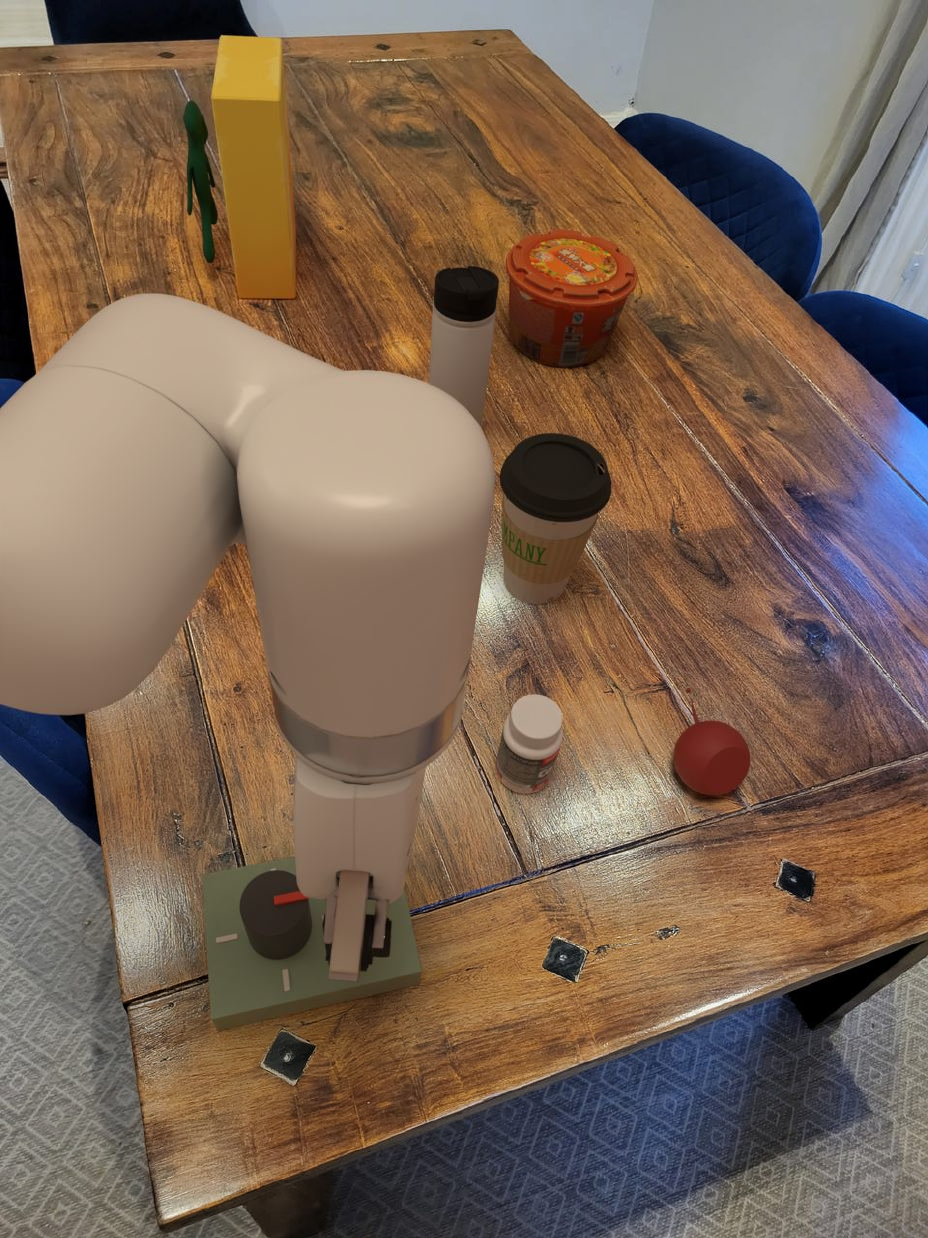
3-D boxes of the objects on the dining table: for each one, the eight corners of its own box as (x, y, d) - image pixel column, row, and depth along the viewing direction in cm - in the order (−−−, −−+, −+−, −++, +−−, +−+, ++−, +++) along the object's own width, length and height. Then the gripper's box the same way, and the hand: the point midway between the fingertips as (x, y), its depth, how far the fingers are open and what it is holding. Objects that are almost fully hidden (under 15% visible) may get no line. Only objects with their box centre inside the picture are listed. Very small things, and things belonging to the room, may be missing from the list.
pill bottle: (542, 802, 71) (559, 751, 65) (487, 784, 72) (498, 731, 66) (557, 755, 74) (575, 701, 68) (504, 737, 75) (516, 682, 68)
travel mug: (434, 460, 96) (445, 295, 80) (419, 422, 100) (427, 257, 84) (488, 453, 98) (510, 290, 82) (471, 416, 101) (489, 253, 86)
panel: (217, 1031, 59) (210, 1019, 56) (207, 890, 65) (201, 873, 62) (420, 984, 62) (422, 970, 59) (393, 853, 68) (394, 835, 65)
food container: (640, 334, 115) (661, 256, 106) (582, 393, 106) (600, 314, 97) (536, 289, 119) (549, 212, 111) (472, 342, 110) (480, 263, 102)
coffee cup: (486, 539, 89) (502, 423, 78) (581, 547, 90) (612, 432, 78) (483, 614, 83) (501, 500, 71) (586, 623, 84) (620, 510, 72)
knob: (250, 966, 59) (241, 941, 55) (244, 903, 61) (235, 875, 57) (316, 952, 60) (312, 926, 56) (307, 890, 62) (303, 862, 58)
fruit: (717, 758, 78) (719, 678, 75) (757, 791, 73) (761, 707, 70) (657, 776, 76) (656, 695, 73) (693, 811, 71) (694, 726, 68)
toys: (206, 228, 122) (175, 32, 103) (296, 230, 124) (281, 37, 105) (197, 298, 112) (161, 94, 93) (295, 299, 113) (280, 98, 94)
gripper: (310, 511, 39) (327, 715, 53) (219, 887, 28) (269, 1023, 42) (477, 528, 39) (451, 727, 53) (450, 908, 29) (425, 1037, 42)
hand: (370, 858), depth 47 cm, fingers open, 9 cm apart
